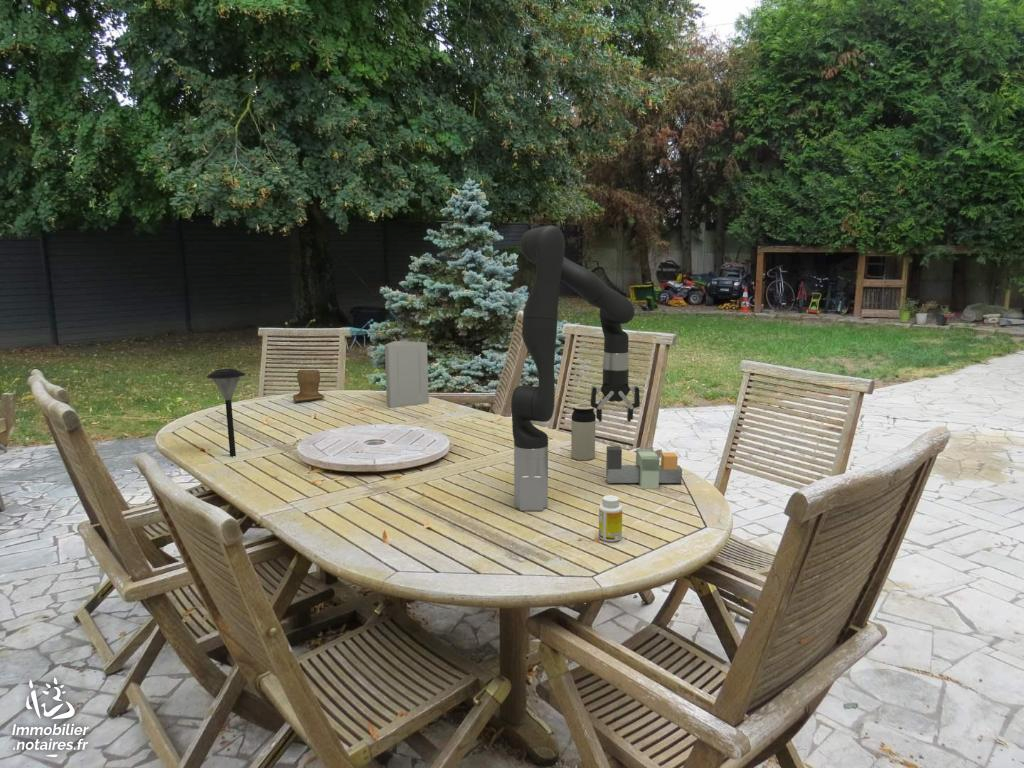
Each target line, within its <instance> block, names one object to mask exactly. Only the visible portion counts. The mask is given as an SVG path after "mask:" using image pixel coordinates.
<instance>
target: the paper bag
mask: <svg viewBox="0 0 1024 768" xmlns="http://www.w3.org/2000/svg"><path fill="white" fill-rule="evenodd" d="M428 361H429V360H428V342H423V341H402V340H398V341H397V340H396V341H394V340H393V341H391V342H389V343H387V344H384V363H385V385H386V386H385V389H386V392H385V393H386V406H387V407H388V408H390V409H394V408H402V407H408V406H409V407H410V406H411V407H412V406H418V405H426V404H429V395H430V394H429V365H428V363H429V362H428Z"/></svg>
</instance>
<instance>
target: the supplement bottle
mask: <svg viewBox="0 0 1024 768" xmlns="http://www.w3.org/2000/svg"><path fill="white" fill-rule="evenodd" d="M601 502H602V503H601V504H600V505H599V506H598V537H599V539H601V540H602V541H603V542H609V543H611V542H613V543H615V542H618V541H620V540H621V539H622V535H623V534H622V533H623V530H622V529H623V506H622V505H621V504H620V497H618V496H616V495H610V494H609V495H604V496H603V497H602V500H601Z"/></svg>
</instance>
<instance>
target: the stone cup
mask: <svg viewBox="0 0 1024 768" xmlns="http://www.w3.org/2000/svg"><path fill="white" fill-rule="evenodd" d="M296 378H297V379H296V380H297V383H298V386H299V392H298V393H296V394H293V396H292V399H293V402H294V403H303V402H310V401H316V400H320V399H323V398H324V399H325V395H324V394H322V393H320V392H319V385H320V383H321V382H320V381H321V373H320V370H318V369H298V370H297V375H296Z"/></svg>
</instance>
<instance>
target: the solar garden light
mask: <svg viewBox="0 0 1024 768" xmlns="http://www.w3.org/2000/svg"><path fill="white" fill-rule="evenodd" d="M245 375H246V373H245V372H242V371H241V370H238V369H236V368H221V369H217V370H214V371H212V372H211V373H210V374H209V375H207V376H206V378H208V379H212V381H213V382H214V383H215V385H216V387H217V388H218V390H219V392H220V393H221V396H222V397H223V399H224V400H225V401H224V402H225V410H226V411H225V412H226V414H225V415H226V424H227V437H228V449H229V457H230V456H235V457H236V456H237V454H236V453H237V452H236V441H235V430H234V429H235V428H234V417H233V406H232V405H233V404H232V399H233V396H234V393H235V390H236V388H237V385H238V384H239V380H240V378H241V377H244V376H245Z"/></svg>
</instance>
